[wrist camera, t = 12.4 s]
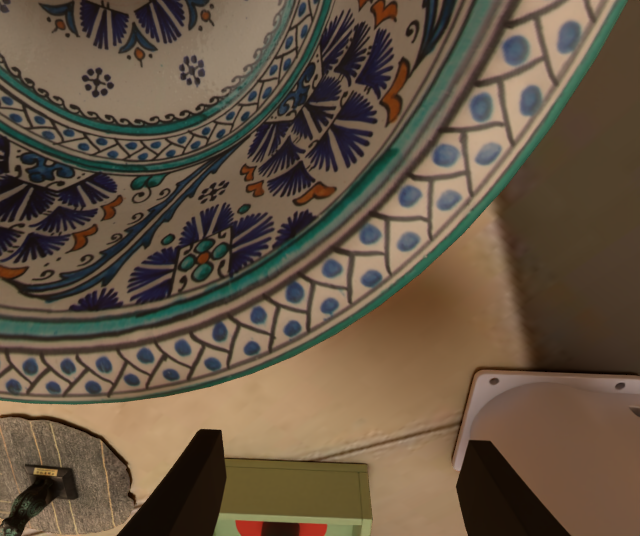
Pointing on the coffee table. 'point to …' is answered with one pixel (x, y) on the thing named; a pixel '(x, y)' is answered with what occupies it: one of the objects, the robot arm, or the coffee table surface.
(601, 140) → the coffee table surface
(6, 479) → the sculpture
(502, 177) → the bowl
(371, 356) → the coffee table surface
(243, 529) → the lid
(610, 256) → the coffee table surface
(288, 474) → the open box
